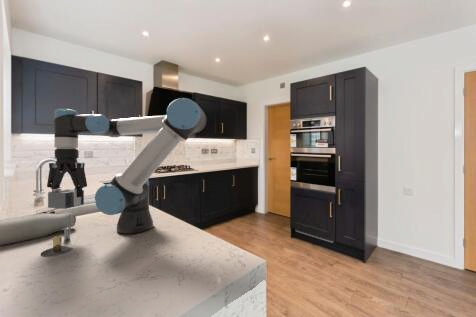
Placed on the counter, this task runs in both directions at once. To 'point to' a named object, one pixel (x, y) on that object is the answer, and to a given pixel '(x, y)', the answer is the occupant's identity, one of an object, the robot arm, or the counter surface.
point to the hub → (56, 248)
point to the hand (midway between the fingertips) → (67, 205)
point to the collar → (63, 199)
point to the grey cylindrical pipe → (34, 226)
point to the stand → (66, 235)
